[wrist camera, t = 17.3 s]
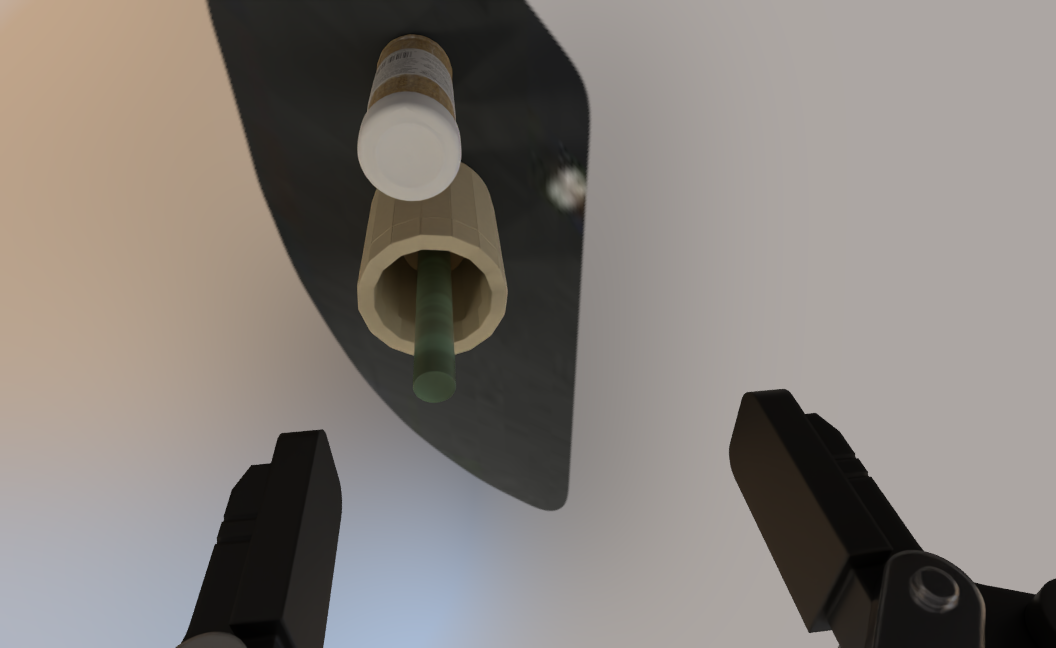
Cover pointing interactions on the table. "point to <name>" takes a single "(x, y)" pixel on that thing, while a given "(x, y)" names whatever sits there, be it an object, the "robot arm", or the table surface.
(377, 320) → the jar
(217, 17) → the table surface
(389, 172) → the sprinkles bottle
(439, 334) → the brush
